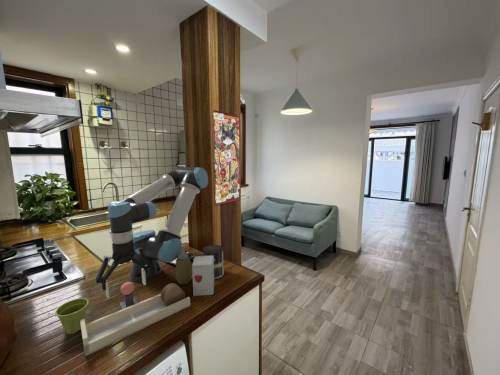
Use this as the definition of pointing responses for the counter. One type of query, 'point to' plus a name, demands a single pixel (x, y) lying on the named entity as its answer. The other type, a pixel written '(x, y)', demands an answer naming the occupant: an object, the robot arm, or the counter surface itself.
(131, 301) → the tee
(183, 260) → the squeeze bottle
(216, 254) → the coffee can
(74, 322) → the plant pot
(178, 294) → the hump
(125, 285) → the ball
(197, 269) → the supplement box
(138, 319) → the tray
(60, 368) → the counter surface
